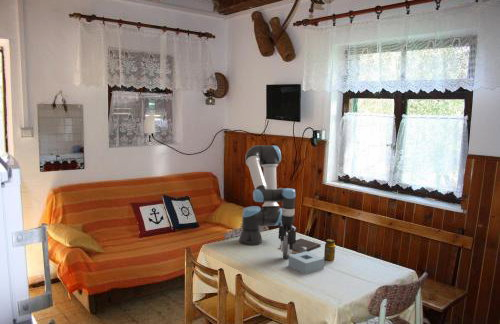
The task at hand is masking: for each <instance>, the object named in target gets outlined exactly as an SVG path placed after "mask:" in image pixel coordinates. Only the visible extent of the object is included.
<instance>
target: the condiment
mask: <svg viewBox="0 0 500 324" xmlns="http://www.w3.org/2000/svg"><path fill="white" fill-rule="evenodd" d="M335 242H336V241H335V240H334V239H333V238H327V239H326V240H325V244H324V252H323V253H324V256H323V258H324V263H326V264H328V263H331V262H336V261H338V259H336V258H335V254H336V244H335Z"/></svg>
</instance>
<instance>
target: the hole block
mask: <svg viewBox="0 0 500 324" xmlns="http://www.w3.org/2000/svg"><path fill="white" fill-rule="evenodd" d="M287 264H288V267H290V268H292V269H294V270H296V271H299V272H301V273H302V274H305V275H307V274H310V273H311V274H312V273H315V272H317V271H318V272H319V271H321V270H324V268H325V262H324V257H321V256H319V255H316V254H314V253H312V252H310V251H308V252H307V251H306V252H302V253H298V254H296V253H292V254H290V255H289V259H288V263H287Z"/></svg>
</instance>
